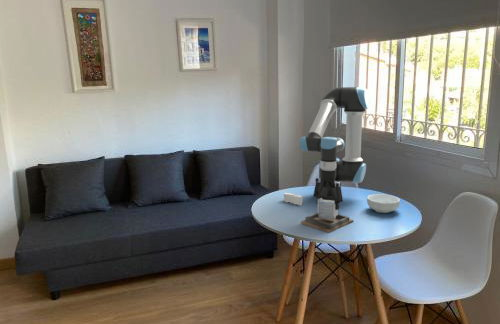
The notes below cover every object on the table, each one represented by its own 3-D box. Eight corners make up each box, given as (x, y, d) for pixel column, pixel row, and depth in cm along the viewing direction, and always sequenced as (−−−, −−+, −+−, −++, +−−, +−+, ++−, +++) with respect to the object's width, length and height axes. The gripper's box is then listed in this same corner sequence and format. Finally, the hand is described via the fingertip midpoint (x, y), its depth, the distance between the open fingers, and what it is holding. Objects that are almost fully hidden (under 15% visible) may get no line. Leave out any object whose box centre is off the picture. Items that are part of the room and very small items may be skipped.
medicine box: (336, 217, 202) (336, 200, 200) (334, 220, 198) (334, 203, 196) (320, 215, 205) (320, 199, 203) (318, 218, 201) (318, 201, 199)
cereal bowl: (401, 217, 208) (402, 203, 206) (367, 215, 211) (368, 202, 209) (396, 206, 224) (397, 194, 222) (365, 205, 227) (366, 193, 226)
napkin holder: (279, 201, 238) (279, 192, 237) (296, 199, 242) (297, 190, 240) (289, 209, 224) (289, 199, 223) (307, 206, 228) (307, 197, 226)
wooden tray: (325, 213, 215) (326, 208, 214) (353, 221, 202) (353, 216, 202) (300, 223, 202) (301, 218, 201) (328, 232, 189) (328, 227, 189)
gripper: (306, 166, 201) (305, 210, 206) (342, 174, 186) (340, 220, 191) (315, 164, 206) (315, 206, 211) (351, 171, 191) (350, 216, 196)
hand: (327, 213), depth 201 cm, fingers closed on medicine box, 9 cm apart
